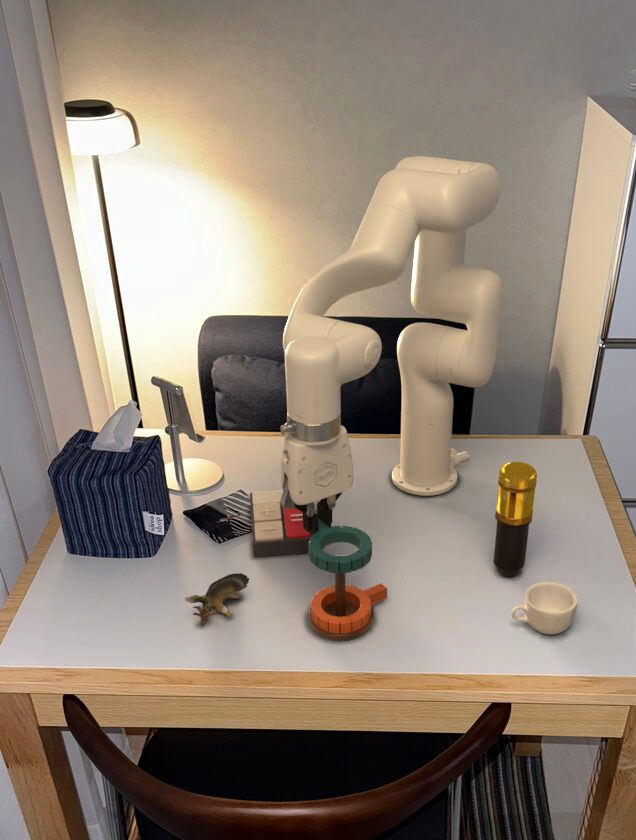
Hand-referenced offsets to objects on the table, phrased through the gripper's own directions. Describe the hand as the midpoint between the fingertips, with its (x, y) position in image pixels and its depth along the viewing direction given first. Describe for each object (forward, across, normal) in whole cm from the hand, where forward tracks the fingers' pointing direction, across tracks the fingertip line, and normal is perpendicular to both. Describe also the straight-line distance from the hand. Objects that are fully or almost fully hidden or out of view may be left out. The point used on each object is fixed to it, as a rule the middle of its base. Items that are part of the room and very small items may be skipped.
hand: (317, 529), depth 139 cm
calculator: (+13, +4, +20) cm, 24 cm away
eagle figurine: (+14, -15, +6) cm, 21 cm away
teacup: (+13, +25, -24) cm, 37 cm away
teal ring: (+1, 0, -5) cm, 5 cm away
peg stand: (+13, 0, -6) cm, 15 cm away
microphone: (+13, +33, -12) cm, 38 cm away
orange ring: (+12, +2, -6) cm, 14 cm away
